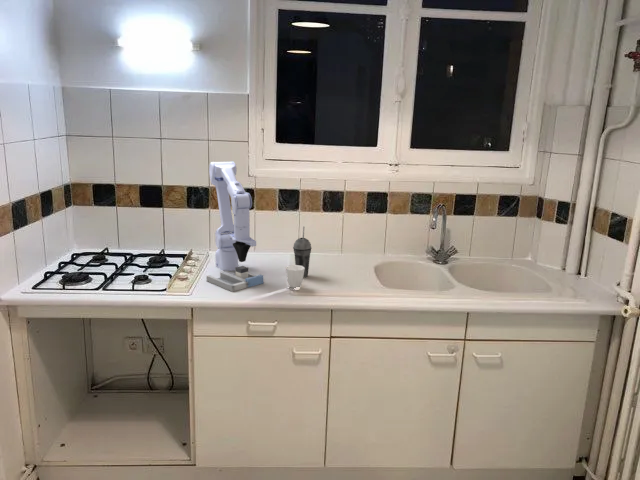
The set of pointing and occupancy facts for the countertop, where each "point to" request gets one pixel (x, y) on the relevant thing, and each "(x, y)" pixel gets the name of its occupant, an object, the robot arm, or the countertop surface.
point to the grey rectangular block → (242, 272)
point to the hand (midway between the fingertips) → (242, 261)
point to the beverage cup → (302, 253)
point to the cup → (294, 275)
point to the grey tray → (235, 281)
